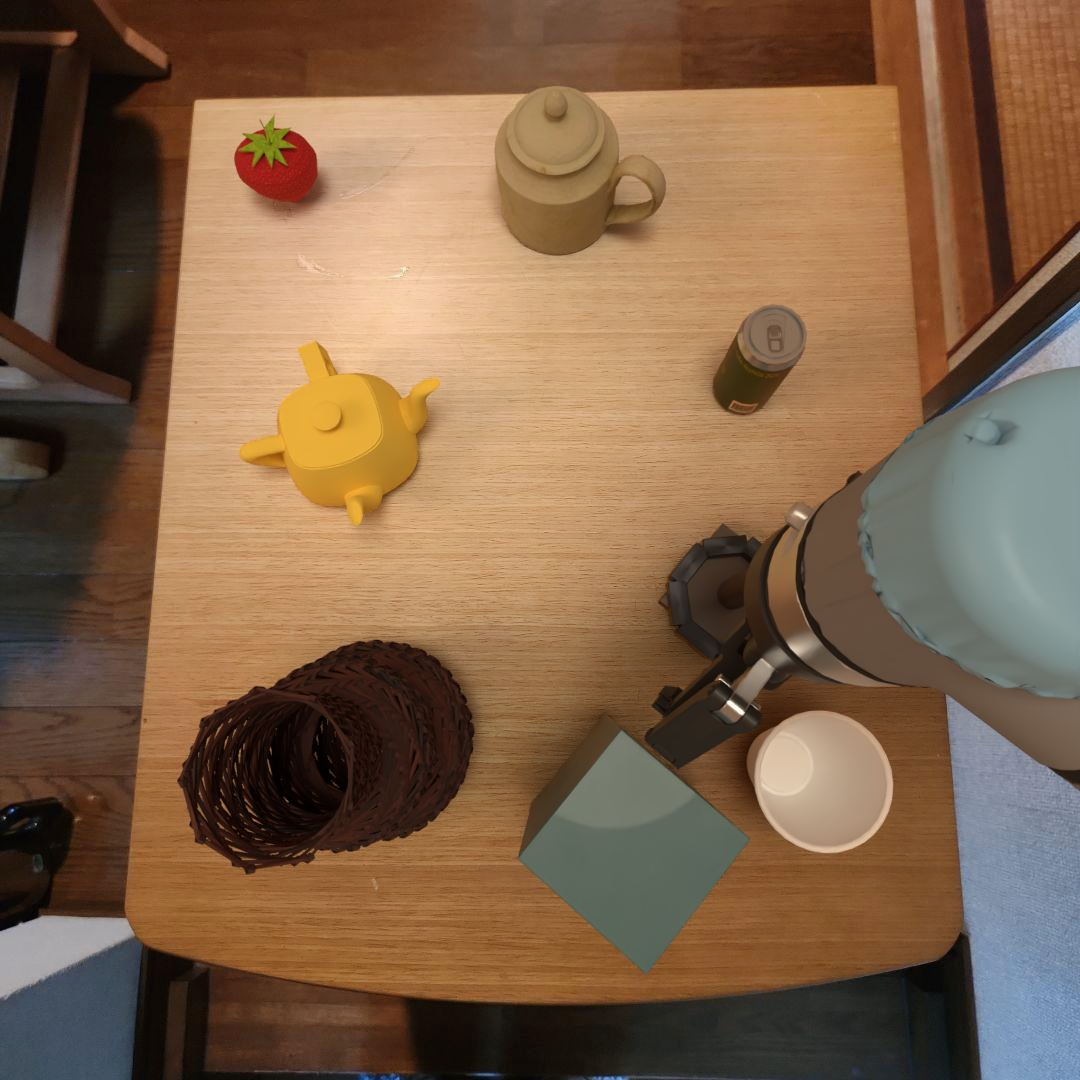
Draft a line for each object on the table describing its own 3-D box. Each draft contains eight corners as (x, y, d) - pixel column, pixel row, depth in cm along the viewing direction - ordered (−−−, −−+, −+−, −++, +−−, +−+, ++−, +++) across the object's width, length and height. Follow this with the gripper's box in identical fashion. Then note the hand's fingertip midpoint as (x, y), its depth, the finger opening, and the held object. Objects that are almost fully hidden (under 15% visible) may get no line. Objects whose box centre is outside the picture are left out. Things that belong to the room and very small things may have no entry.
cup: (857, 734, 67) (914, 746, 56) (814, 844, 65) (864, 878, 55) (749, 685, 68) (785, 687, 57) (705, 792, 66) (733, 815, 56)
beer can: (771, 415, 72) (812, 365, 60) (713, 417, 72) (742, 367, 60) (767, 360, 73) (807, 300, 61) (709, 362, 73) (738, 302, 61)
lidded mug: (652, 151, 77) (673, 27, 62) (655, 255, 75) (677, 152, 60) (501, 154, 77) (487, 32, 62) (501, 257, 75) (486, 156, 60)
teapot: (385, 546, 71) (356, 526, 61) (260, 480, 72) (213, 450, 62) (457, 417, 73) (441, 378, 63) (334, 356, 74) (299, 307, 64)
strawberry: (258, 174, 78) (213, 101, 68) (333, 167, 78) (299, 94, 68) (258, 228, 77) (213, 162, 67) (334, 221, 76) (300, 154, 67)
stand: (695, 790, 66) (750, 839, 47) (621, 884, 65) (646, 975, 46) (604, 712, 68) (621, 729, 48) (530, 804, 67) (517, 858, 47)
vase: (484, 643, 69) (426, 622, 39) (480, 824, 66) (415, 946, 37) (313, 641, 70) (129, 619, 40) (303, 821, 67) (97, 939, 37)
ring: (814, 591, 67) (820, 589, 66) (740, 686, 66) (744, 686, 65) (717, 515, 69) (721, 511, 67) (643, 607, 68) (644, 606, 66)
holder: (800, 589, 69) (856, 569, 56) (738, 668, 68) (780, 666, 55) (719, 526, 70) (756, 491, 57) (657, 602, 69) (679, 585, 56)
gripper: (958, 311, 33) (806, 452, 54) (587, 772, 30) (579, 733, 51) (1110, 418, 32) (895, 519, 53) (741, 905, 29) (668, 809, 50)
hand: (739, 624), depth 52 cm, fingers open, 13 cm apart
